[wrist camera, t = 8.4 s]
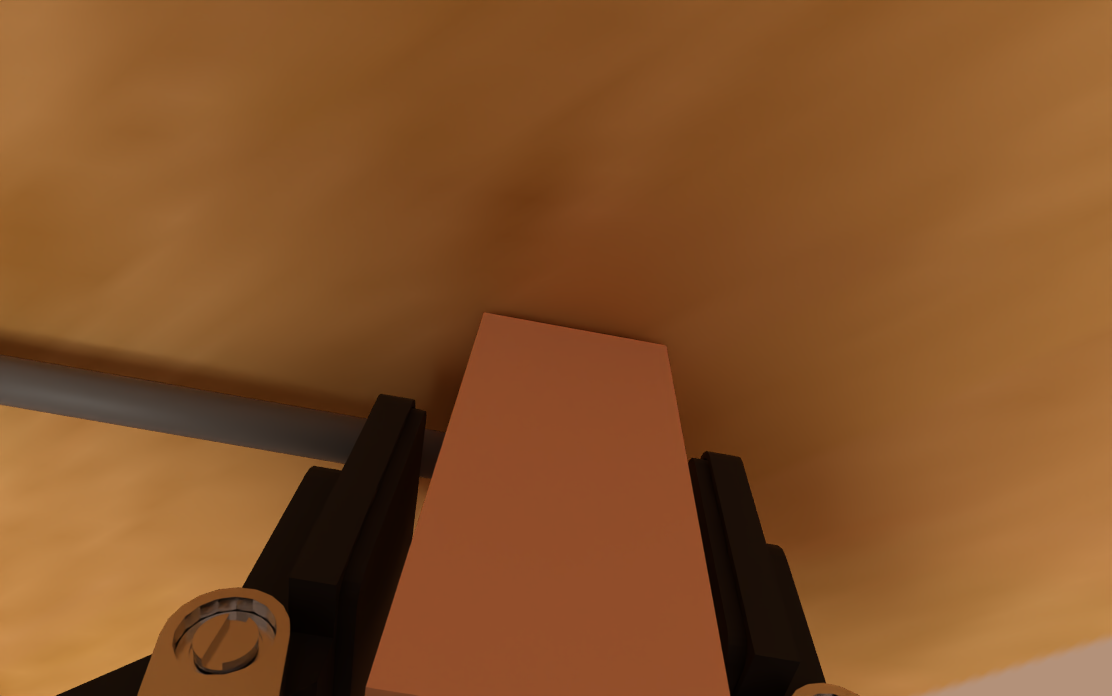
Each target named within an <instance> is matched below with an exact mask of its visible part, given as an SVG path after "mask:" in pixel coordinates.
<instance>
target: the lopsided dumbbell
mask: <svg viewBox="0 0 1112 696" xmlns="http://www.w3.org/2000/svg"><path fill="white" fill-rule="evenodd" d="M0 405H5V406H11V407H17V408H23V409H29V410H35V411H40V412H46V413H52V414H58V415H64V416H69V417H75V418H81V419H87V420H93V421H98V422H104V423H110V424H116V425H122V426H127V427H133V428H139V429H145V430H151V431H157V432H162V433H168V434H174V435H180V436H186V437H191V438H197V439H203V440H209V441H215V442H220V443H226V444H232V445H238V446H244V447H249V448H255V449H261V450H267V451H273V452H278V453H284V454H290V455H296V456H302V457H308V458H313V459H319V460H325V461H331V462H337V463H342V464H345V463H346V461H347V459H348V457H349V455H350V453H351V451H352V449H353V447H354V445H355V443H356V441H357V439H358V437H359V435H360V433H361V431H362V429H363V427H364V425H365V423H366V421H367V419H366V418H360V417H354V416H348V415H343V414H337V413H331V412H326V411H320V410H314V409H308V408H303V407H297V406H291V405H286V404H280V403H274V402H268V401H263V400H257V399H251V398H245V397H240V396H234V395H228V394H223V393H217V392H211V391H205V390H200V389H194V388H188V387H183V386H177V385H171V384H165V383H160V382H154V381H148V380H143V379H137V378H131V377H125V376H120V375H114V374H108V373H102V372H97V371H91V370H85V369H80V368H74V367H68V366H62V365H57V364H51V363H45V362H40V361H34V360H28V359H22V358H17V357H11V356H5V355H0ZM419 477H424V478H430V479H431V481H430V485H429V488H428V491H427V494H426V497H425V501H424V504H423V507H422V510H421V513H420V516H419V520H418V523H417V526H416V529H415V532H414V535H413V539H412V542H411V545H410V548H409V551H408V554H407V558H406V561H405V564H404V567H403V570H402V573H401V577H400V580H399V583H398V586H397V589H396V593H395V596H394V599H393V602H392V605H391V608H390V612H389V615H388V618H387V621H386V624H385V627H384V631H383V634H382V637H381V640H380V643H379V646H378V650H377V653H376V656H375V659H374V662H373V665H372V669H371V672H370V675H369V678H368V681H367V685H366V689H365V696H730V691H729V686H728V680H727V675H726V670H725V664H724V659H723V653H722V648H721V642H720V637H719V631H718V626H717V620H716V615H715V609H714V604H713V598H712V593H711V587H710V582H709V576H708V571H707V565H706V560H705V554H704V549H703V543H702V538H701V532H700V527H699V522H698V516H697V511H696V505H695V500H694V494H693V489H692V483H691V478H690V472H689V467H688V461H687V456H686V450H685V445H684V439H683V434H682V428H681V423H680V417H679V412H678V406H677V401H676V395H675V390H674V385H673V379H672V374H671V368H670V363H669V357H668V352H667V346H666V345H661V344H656V343H650V342H644V341H639V340H633V339H628V338H622V337H617V336H611V335H606V334H600V333H595V332H589V331H584V330H578V329H573V328H567V327H562V326H556V325H551V324H545V323H540V322H534V321H529V320H523V319H518V318H512V317H507V316H501V315H496V314H490V313H485V312H484V313H483V317H482V320H481V323H480V326H479V329H478V332H477V336H476V339H475V342H474V345H473V348H472V351H471V355H470V358H469V361H468V364H467V367H466V370H465V374H464V377H463V380H462V383H461V386H460V389H459V393H458V396H457V399H456V402H455V405H454V409H453V412H452V415H451V418H450V421H449V424H448V428H447V431H446V432H440V431H434V430H429V429H425V433H424V442H423V450H422V459H421V467H420V476H419Z"/></svg>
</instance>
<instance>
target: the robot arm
mask: <svg viewBox="0 0 1112 696" xmlns="http://www.w3.org/2000/svg"><path fill="white" fill-rule="evenodd" d="M425 424H426V411H424V410H418V409H415V400H413V399H407V398H402V397H396V396H390V395H385V394H380V395H379V397H378V398H377V400H376V402H375V404H374V406H373V408H372V410H371V412H370V414H369V416H368V418H367V421H366V423H365V425H364V427H363V429H362V431H361V433H360V435H359V437H358V439H357V441H356V443H355V445H354V447H353V449H352V451H351V453H350V455H349V457H348V459H347V461H346V463H345V465H344V467H343V469H342V471H341V470H335V469H329V468H323V467H317V466H313V467H311V468H310V469H309V470H308V472H307V473H306V475H305V476H304V478H303V480H302V482H301V483H300V485H299V487H298V489H297V491H296V492H295V494H294V496H293V498H292V500H291V501H290V503H289V505H288V507H287V508H286V510H285V512H284V514H283V516H282V517H281V519H280V521H279V523H278V524H277V526H276V528H275V530H274V532H273V533H272V535H271V537H270V539H269V541H268V542H267V544H266V546H265V548H264V549H263V551H262V553H261V555H260V557H259V558H258V560H257V562H256V564H255V565H254V567H253V569H252V571H251V573H250V574H249V576H248V578H247V580H246V582H245V583H244V585H243V587H242V588H240V587H237V588H227V589H218V590H215V591H212V592H209V593H206V594H203V595H200V596H198V597H196V598H194V599H193V600H191V601H189V602H188V603H186V604H184V605H182V606H181V607H180V608H179V609H178V610H177V611H176V612H175V613H174V614H173V615H172V616H171V617H170V618H169V619H168V620H167V622H166V624H165V625H164V627H163V629H162V630H161V632H160V634H159V637H158V639H157V642H156V645H155V648H154V650H153V653H152V654H151V655H149V656H147V657H144V658H142V659H140V660H137V661H135V662H133V663H130V664H128V665H126V666H124V667H121V668H119V669H117V670H114V671H112V672H110V673H107V674H105V675H103V676H100V677H98V678H96V679H93V680H91V681H89V682H87V683H84V684H82V685H80V686H77V687H75V688H73V689H70V690H68V691H66V692H63V693H61V694H59V695H56V696H365V689H366V685H367V681H368V678H369V675H370V672H371V669H372V665H373V662H374V659H375V656H376V653H377V650H378V646H379V643H380V640H381V637H382V634H383V631H384V627H385V624H386V621H387V618H388V615H389V612H390V608H391V605H392V602H393V599H394V596H395V593H396V589H397V586H398V583H399V580H400V577H401V573H402V570H403V567H404V564H405V561H406V558H407V554H408V551H409V548H410V545H411V542H412V536H413V527H414V519H415V510H416V502H417V493H418V484H419V476H420V467H421V459H422V450H423V442H424V433H425ZM688 467H689V472H690V478H691V483H692V489H693V494H694V500H695V505H696V511H697V516H698V522H699V527H700V532H701V538H702V543H703V549H704V554H705V560H706V565H707V571H708V576H709V582H710V587H711V593H712V598H713V604H714V609H715V615H716V620H717V626H718V631H719V637H720V642H721V648H722V653H723V659H724V664H725V670H726V675H727V680H728V686H729V691H730V696H859V695H858V694H856V693H854V692H852V691H849V690H847V689H845V688H843V687H840V686H836V685H831V684H826V681H825V678H824V675H823V672H822V669H821V666H820V663H819V659H818V656H817V653H816V650H815V647H814V644H813V640H812V637H811V634H810V631H809V628H808V625H807V622H806V618H805V615H804V612H803V609H802V606H801V603H800V600H799V596H798V593H797V590H796V587H795V584H794V581H793V578H792V574H791V571H790V568H789V565H788V562H787V559H786V556H785V554H784V552H783V549H782V548H780V547H779V546H777V545H771V544H766V541H765V538H764V535H763V531H762V528H761V524H760V521H759V517H758V514H757V511H756V507H755V504H754V500H753V497H752V493H751V490H750V487H749V483H748V480H747V476H746V473H745V469H744V466H743V462H742V460H741V458H739V457H736V456H731V455H725V454H719V453H714V452H708V451H706V452H704V453H703V455H702V456H701V459H697V458H691V459H690V461H689V463H688Z"/></svg>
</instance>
